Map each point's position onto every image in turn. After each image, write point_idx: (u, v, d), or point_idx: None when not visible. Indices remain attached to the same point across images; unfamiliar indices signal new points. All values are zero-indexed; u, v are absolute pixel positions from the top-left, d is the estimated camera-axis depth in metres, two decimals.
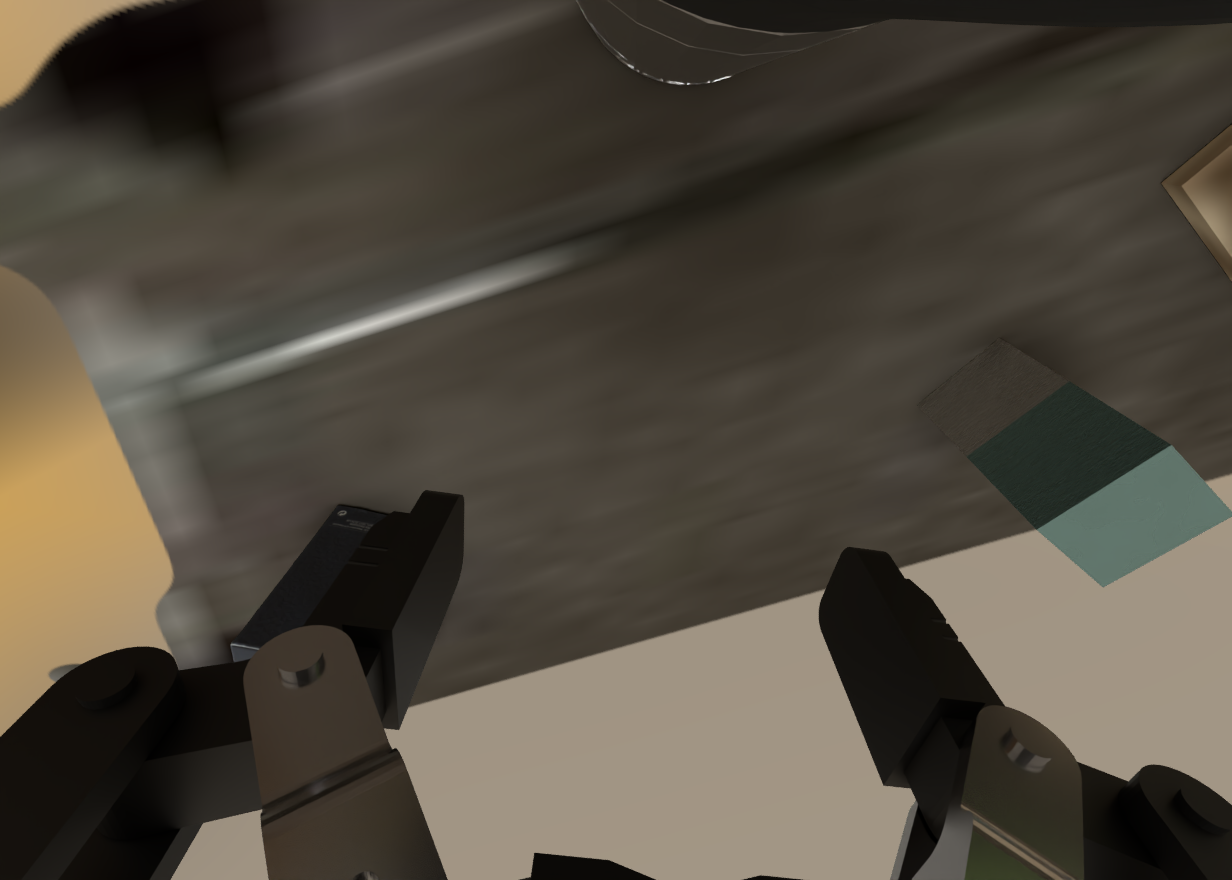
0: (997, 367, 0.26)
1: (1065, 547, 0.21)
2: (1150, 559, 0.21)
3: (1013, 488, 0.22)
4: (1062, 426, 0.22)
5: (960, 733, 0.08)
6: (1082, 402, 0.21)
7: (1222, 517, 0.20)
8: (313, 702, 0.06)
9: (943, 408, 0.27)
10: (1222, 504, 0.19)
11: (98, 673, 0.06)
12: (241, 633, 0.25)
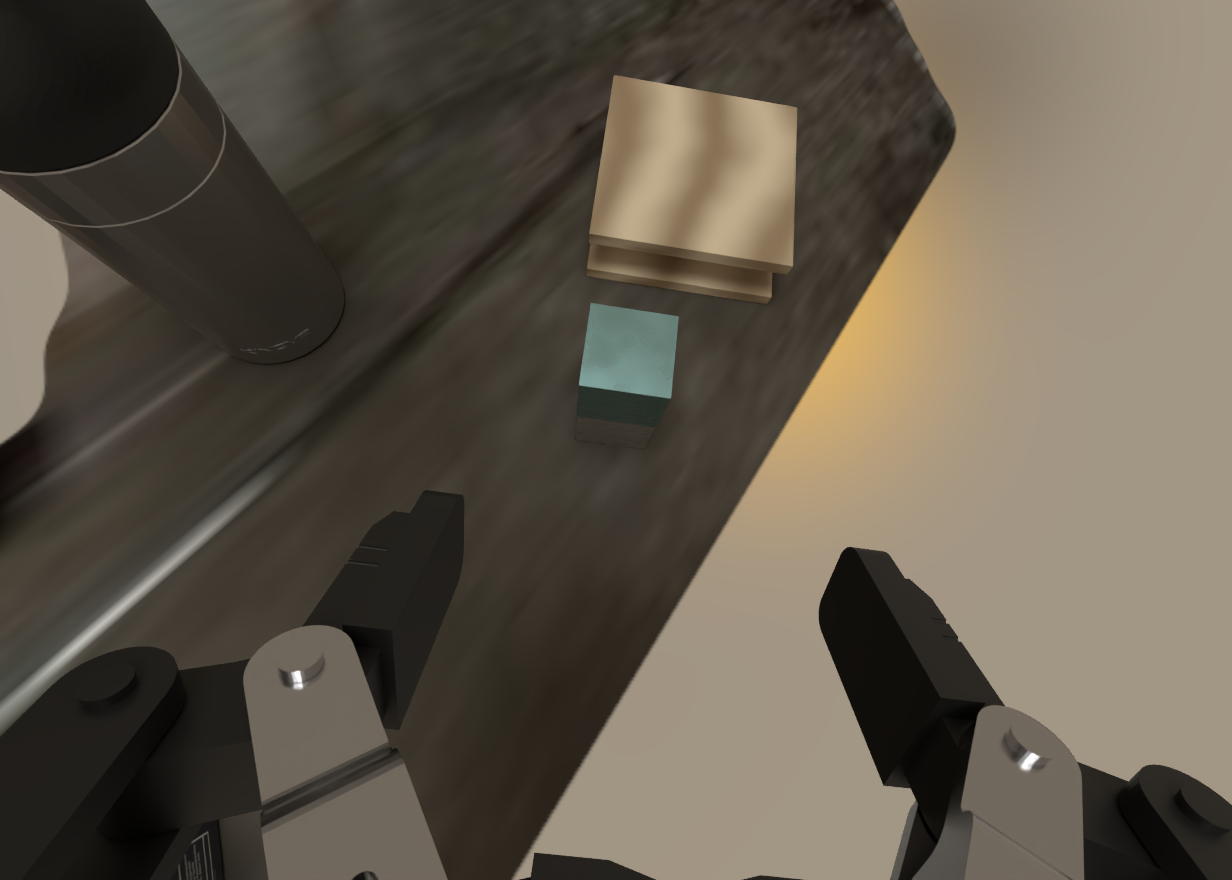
0: None
1: (610, 386, 0.28)
2: (672, 365, 0.28)
3: None
4: None
5: (960, 733, 0.08)
6: None
7: (674, 321, 0.29)
8: (313, 702, 0.06)
9: None
10: (663, 315, 0.29)
11: (97, 672, 0.06)
12: None
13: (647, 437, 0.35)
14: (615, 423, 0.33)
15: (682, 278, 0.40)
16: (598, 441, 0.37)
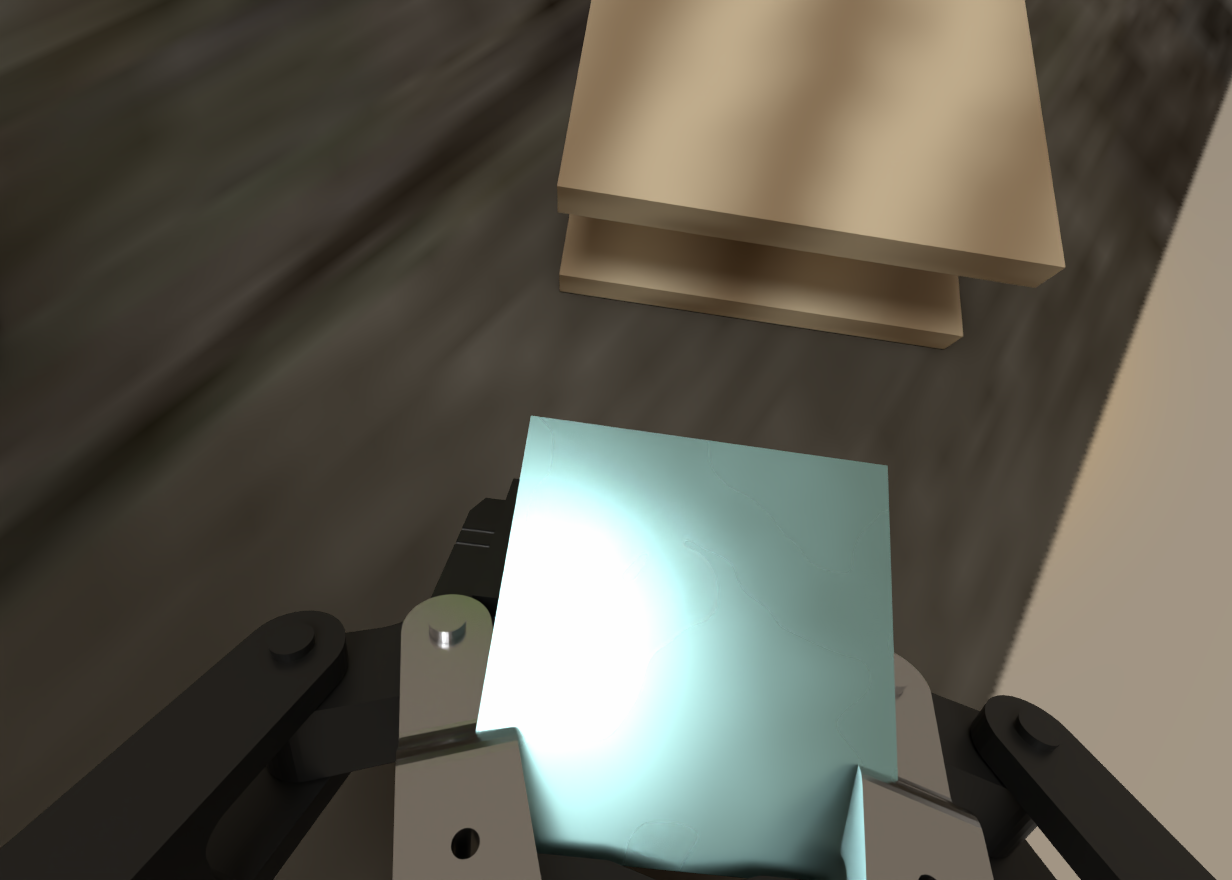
0: None
1: (614, 845, 0.06)
2: (889, 702, 0.06)
3: None
4: None
5: None
6: None
7: (873, 487, 0.07)
8: (451, 662, 0.07)
9: None
10: (827, 462, 0.07)
11: (288, 628, 0.07)
12: None
13: None
14: None
15: (770, 295, 0.18)
16: None
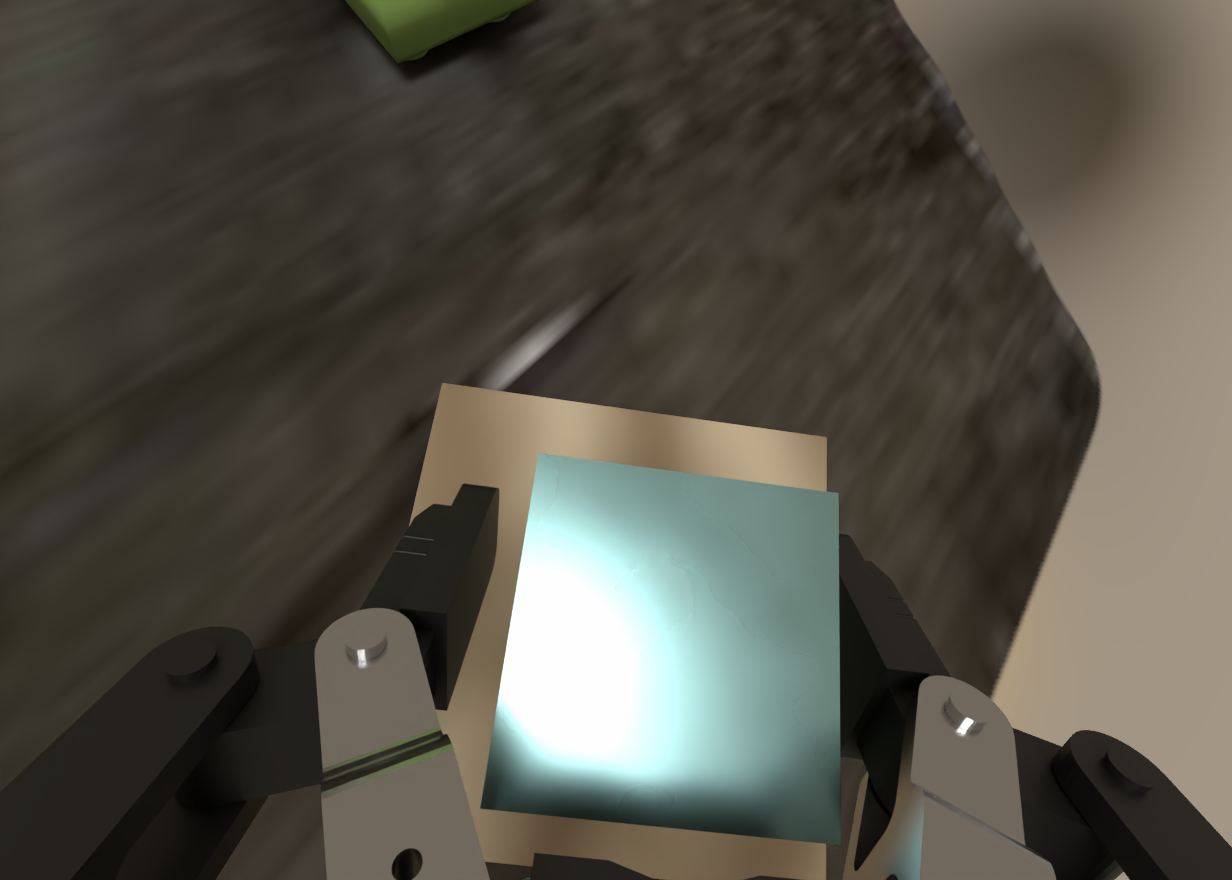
0: None
1: (608, 806, 0.07)
2: (834, 690, 0.08)
3: None
4: None
5: (905, 702, 0.08)
6: None
7: (826, 511, 0.09)
8: (375, 680, 0.07)
9: None
10: (787, 490, 0.09)
11: (184, 648, 0.06)
12: None
13: None
14: None
15: None
16: None
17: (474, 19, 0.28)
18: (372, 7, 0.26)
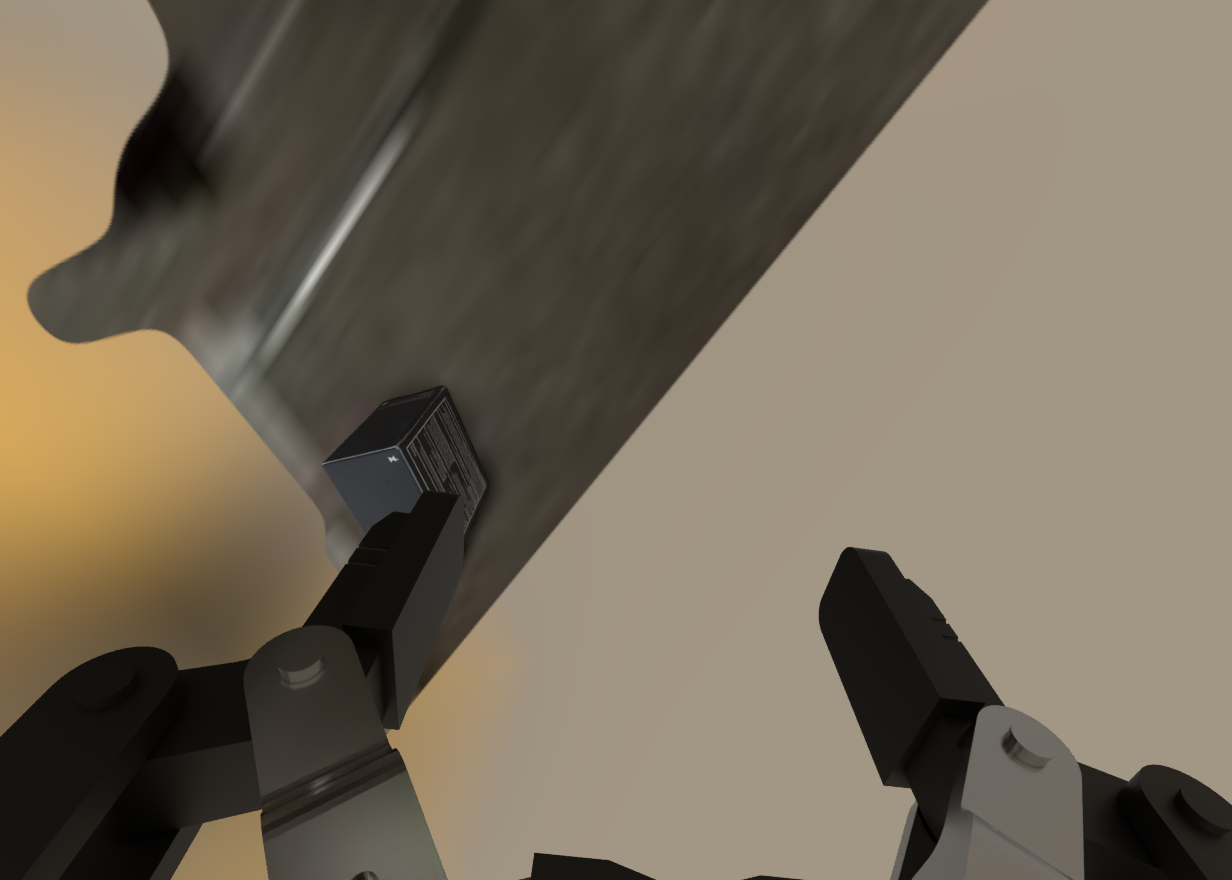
0: None
1: None
2: None
3: None
4: None
5: (960, 733, 0.08)
6: None
7: None
8: (313, 702, 0.06)
9: None
10: None
11: (98, 673, 0.06)
12: (327, 459, 0.38)
13: None
14: None
15: None
16: None
17: None
18: None
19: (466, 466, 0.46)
